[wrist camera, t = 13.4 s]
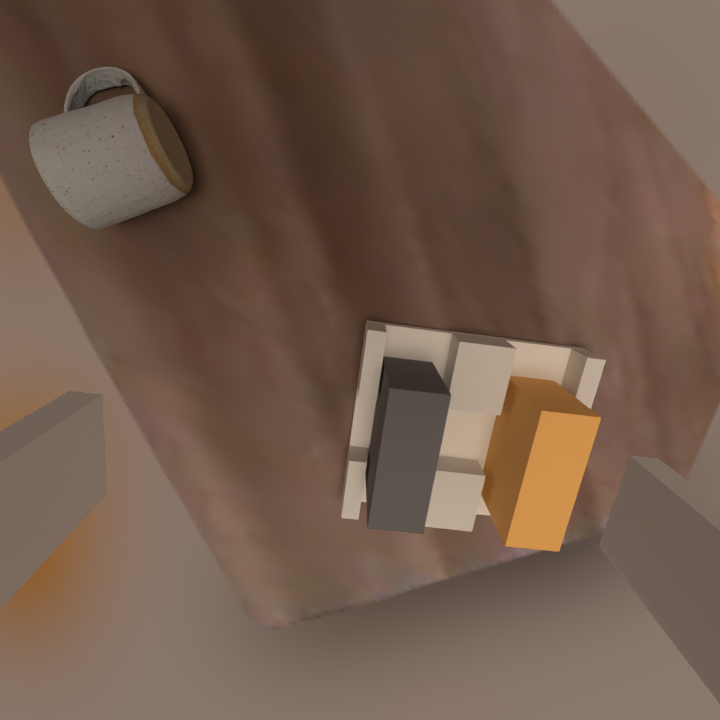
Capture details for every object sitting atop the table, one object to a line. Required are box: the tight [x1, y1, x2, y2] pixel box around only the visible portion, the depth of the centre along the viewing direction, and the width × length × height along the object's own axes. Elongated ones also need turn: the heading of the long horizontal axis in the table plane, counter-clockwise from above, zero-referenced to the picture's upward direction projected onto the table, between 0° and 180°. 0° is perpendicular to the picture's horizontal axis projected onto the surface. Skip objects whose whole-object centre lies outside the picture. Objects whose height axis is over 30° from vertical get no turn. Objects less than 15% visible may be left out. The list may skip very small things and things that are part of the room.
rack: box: [341, 320, 606, 531], centre depth 40 cm, size 18×20×4 cm
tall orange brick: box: [481, 376, 601, 552], centre depth 38 cm, size 12×4×8 cm, turn 173°
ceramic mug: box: [29, 67, 193, 229], centre depth 31 cm, size 11×8×8 cm
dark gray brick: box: [365, 356, 451, 534], centre depth 37 cm, size 12×4×8 cm, turn 173°
